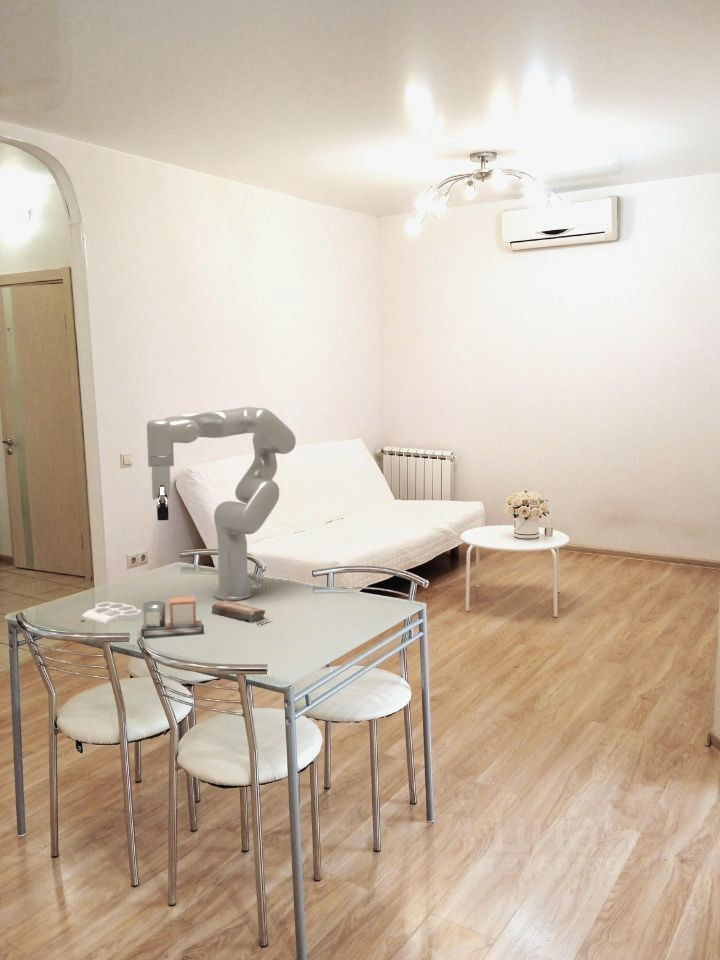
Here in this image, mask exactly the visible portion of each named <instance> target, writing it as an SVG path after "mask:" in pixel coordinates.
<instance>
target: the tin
mask: <svg viewBox="0 0 720 960" xmlns="http://www.w3.org/2000/svg"><path fill="white" fill-rule="evenodd" d="M142 607H143V611H142V612H143V618H142V619H143V625H144V629H146V628H159V627H165V623H166V602H164V601H160V600H151V601H146V602H144V603H143V606H142Z"/></svg>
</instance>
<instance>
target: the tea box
mask: <svg viewBox="0 0 720 960" xmlns="http://www.w3.org/2000/svg"><path fill="white" fill-rule="evenodd" d="M196 606H197V605H196V597H195V595H192V596H177V597H176V596H175V597H169V623H170V625H171V627H172V626H185V625H196V621H197V616H196V615H197V614H196V613H197V612H196V611H197V610H196V608H197V607H196Z"/></svg>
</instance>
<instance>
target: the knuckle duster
mask: <svg viewBox="0 0 720 960" xmlns="http://www.w3.org/2000/svg"><path fill="white" fill-rule="evenodd" d="M80 618H81V620H82V621H86V620H88V621H92V622H95V623H98V624H101V625H105V626H106V625H110V624H113V623H116V622H119V621H127V622H129V621H135V620H136V621H137V620H139V619H141V618H142V610H141V609H139V608H136V606H134V605H131V604H127V603H123V602H122V603H121V602H112V601H102V602H98V603H96V604H95V605H94V608H92V609H88V610H86V611H85V612H83V614H82V615H81V616H80Z"/></svg>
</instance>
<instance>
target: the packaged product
mask: <svg viewBox="0 0 720 960" xmlns="http://www.w3.org/2000/svg"><path fill="white" fill-rule="evenodd" d="M265 613H266V610H265V609H262V608H259V607H254V606H252V605H251V606H250V605H246V604H242V603H239V602H234V601H233V600H221V601H218V602H216V603H213V604H212V606H211V614H212V615H211V616H212V617H213V616H214V615H215V616H216V615H217V616H220V617H224V618H229V619H233V620H237V621H240V622H245V623H249V624H252V623H256V626H257V625H259V624H262V623H264V622H266V621H268V620H270V619H268V617H269V616H264V615H265Z"/></svg>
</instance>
